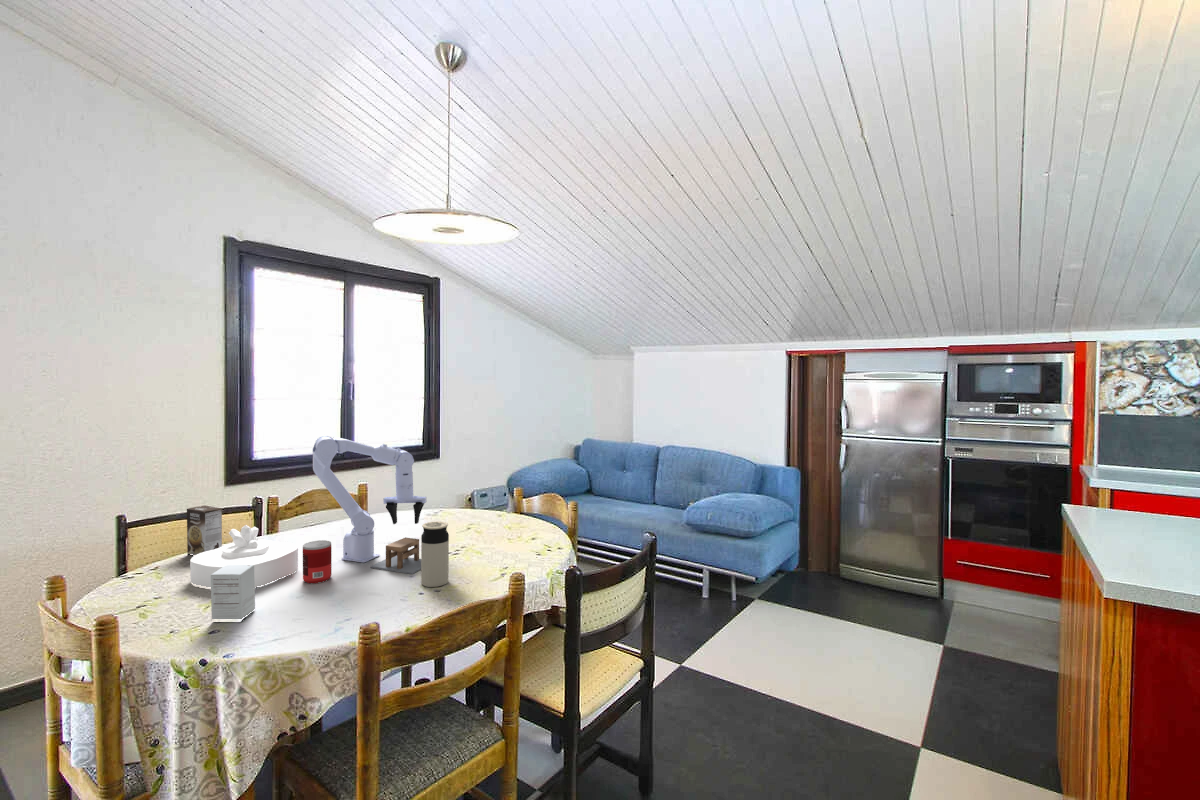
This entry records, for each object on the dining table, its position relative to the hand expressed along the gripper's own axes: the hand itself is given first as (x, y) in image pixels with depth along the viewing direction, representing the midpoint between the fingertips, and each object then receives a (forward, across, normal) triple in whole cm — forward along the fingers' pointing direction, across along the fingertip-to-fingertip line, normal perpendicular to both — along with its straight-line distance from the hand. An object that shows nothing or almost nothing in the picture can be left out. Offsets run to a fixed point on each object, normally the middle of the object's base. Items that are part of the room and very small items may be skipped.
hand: (405, 523), depth 205 cm
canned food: (+10, -18, -28) cm, 34 cm away
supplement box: (+9, -26, -56) cm, 62 cm away
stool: (+10, +3, -13) cm, 17 cm away
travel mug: (+11, +18, -29) cm, 36 cm away
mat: (+10, +3, -14) cm, 17 cm away
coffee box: (+8, -67, -7) cm, 68 cm away
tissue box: (+9, -41, -26) cm, 49 cm away
